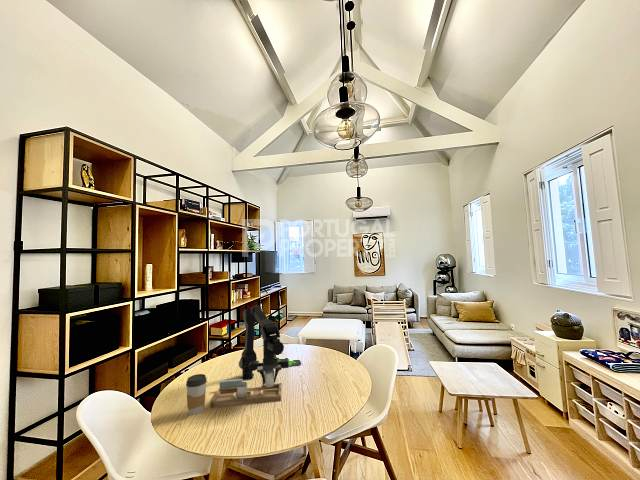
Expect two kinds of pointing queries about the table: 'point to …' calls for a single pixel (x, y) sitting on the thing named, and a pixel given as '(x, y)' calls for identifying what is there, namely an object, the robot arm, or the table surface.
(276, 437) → the table surface
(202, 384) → the coffee cup
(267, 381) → the grey pin
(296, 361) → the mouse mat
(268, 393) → the tray
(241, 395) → the pin
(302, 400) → the table surface
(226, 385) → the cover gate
